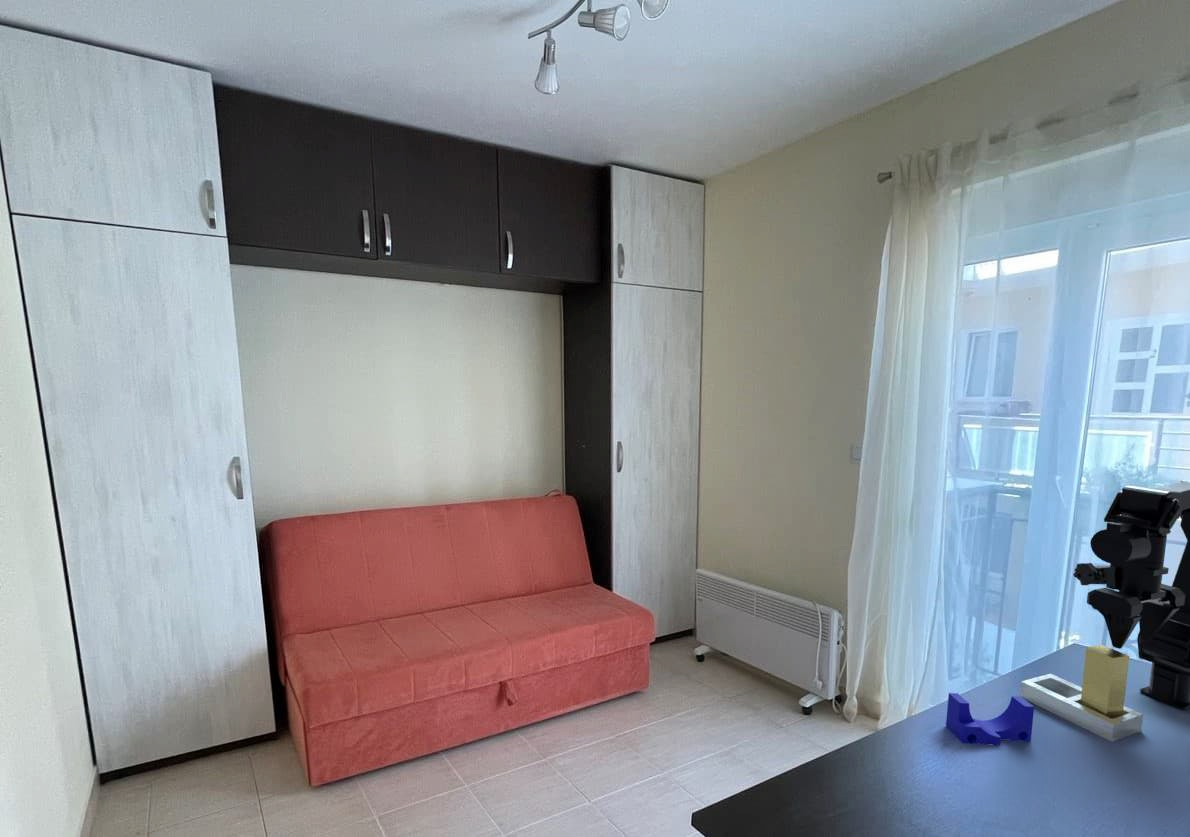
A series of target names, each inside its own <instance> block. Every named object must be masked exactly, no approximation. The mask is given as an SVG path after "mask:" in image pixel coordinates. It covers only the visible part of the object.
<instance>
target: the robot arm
mask: <svg viewBox="0 0 1190 837" xmlns="http://www.w3.org/2000/svg"><path fill="white" fill-rule="evenodd" d="M1178 519H1180V524H1179V525H1180V528H1181V530H1182V532H1183V534H1184V537H1185V538H1186V543H1185V546H1184V549H1183V553H1182V554H1181V557H1180V562H1179V564H1178V566H1177V570H1176V574H1175V576H1174V579H1173V580H1172V584H1171V585H1167V584H1164V583H1162V581H1163V575H1168V574H1169V570H1170V569H1169V567H1166V566H1164V564H1165V557H1166V556H1165V554H1166V549H1167V548H1166V546H1167V540H1168V535H1170V534H1171V532H1172V531H1171V530H1172V528H1173V526H1174V525H1175V524H1176V522H1177V521H1178ZM1103 522H1105V523H1106V529H1100V530H1099V531H1097V532H1095V533H1094V535H1093V536H1092V538H1090V548H1091V551H1092V552H1093V554H1094V556H1096V557H1097V558H1098V559H1100V560H1101V561H1103V562H1106V563H1107V564H1110V565H1094V564H1093V563H1092V562H1085V563H1084V562H1081V563H1076V568H1074V573H1073V577H1074V578H1076V579H1077V580H1078V581H1079V583H1080V585H1081V586H1089V585H1106V586H1105V587H1101V588H1096V589H1093V590H1090V591H1089V592H1087V597H1086V604H1087V605H1090V606H1091V608H1092V609H1094V610H1095V611H1098V612H1099V613H1100V614H1101V615H1102V616H1103V619H1104V621H1105V624H1106V627H1107V630H1108V631H1107V632H1108V634H1109V638H1110V642H1111V645H1112V647H1113V648H1115V649H1118V650H1121V649H1122V648H1123V646H1124V645H1125V644H1126V643H1127V641H1128V639H1129V637H1130V636H1131V634H1132V633H1133V631H1134V630H1135V628H1136V626H1137V625H1138V626H1139V632H1138V634H1137V638H1136V639H1137V640H1136V641H1137V642H1136V643H1137V650H1138V658H1139V659H1140V660H1143V661H1147V662H1150V663H1151V667H1150V668H1151V669H1150V676H1149V678H1150V679H1149V685H1148V686H1145V687H1143V688H1140V689H1139V692H1140V691H1141V692H1140V693H1142V694H1144V693H1145V694H1144V695H1146V694H1147V695H1146V696H1149V697H1151V696H1152V698H1154V699H1157V700H1159V701H1161V702H1164V703H1166V704H1168V705H1171V706H1174V707H1176V708H1178V709H1180V708H1182V709H1181V710H1186V709H1185V708H1188V707H1190V478H1189V479H1183V480H1181V481H1180V482H1175V483H1172V484H1168V485H1163V486H1160V487H1147V486H1138V485H1130V484H1129V485H1126V486H1123V487H1122V489H1121V490H1119V491H1118V492H1117V493H1116V495H1115V497H1114V499H1113V501H1112V503H1111V504H1110V507H1109V509H1108V510H1107V512H1106V514H1105V517H1104V518H1103ZM1183 708H1184V709H1183ZM1188 709H1189V708H1188Z"/></svg>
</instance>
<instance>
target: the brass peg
mask: <svg viewBox="0 0 1190 837" xmlns="http://www.w3.org/2000/svg"><path fill="white" fill-rule="evenodd" d="M1084 659H1085V660H1084V667H1083V668H1084V669H1083V674H1082V676H1083V678H1082V686H1081V687H1082V693H1081V702H1080V704H1081V705H1083V706H1085V707H1087V708H1089V709H1091V710H1094V711H1096V712H1098V713H1100V714H1102V715H1104V716H1107V717H1109V718H1111V719H1114V718H1117V717H1120V716H1123V708H1124V706H1125V698H1126V689H1127V680H1128V672H1129V662H1130V655H1128V654H1125V653H1123V652H1121V651H1118V650H1115V649H1113V648H1111V647H1109V646H1106V645H1103V644H1102V645H1101V644H1100V645H1092V646H1086V648H1085V656H1084Z"/></svg>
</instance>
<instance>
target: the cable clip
mask: <svg viewBox="0 0 1190 837" xmlns="http://www.w3.org/2000/svg"><path fill="white" fill-rule="evenodd" d="M1034 710H1035V706H1034V705H1032V704H1031V702H1029V701H1027V700H1025V699H1023V698H1022V697H1020V695H1019V696H1017V695H1016V696H1015V695H1011V697H1010V702H1009V705H1008V706H1007V708H1005V709H1004V712H1002V713H1001V714H1000V715H998V716H997V717H994V718H991V719H986V720H981V719H976V718H973V716H972V713H971V710H970V702H968V701H967V700H966V699H965V698H963V696H961V695H960V694H959V693H956V692H948V697H947V709H946V717H945V718H946V720H945V727H946V726H947V727H946V728H947V729H948V730H949V731H950V732H951V733H952V734H953V735H954V736H955V737H956V738H957V739H958V740H959V741H960V742H961V743H962V744H968V743H970V744H973V743H974V745H987V744H993V745H992V746H1001V741H1002V740H1001V739H1010V740H1009V741H1016V740H1023V741H1022V742H1032V732H1033V722H1034V712H1035V711H1034ZM978 743H979V744H978ZM996 744H998V745H996Z"/></svg>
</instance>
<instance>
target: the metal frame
mask: <svg viewBox="0 0 1190 837" xmlns="http://www.w3.org/2000/svg"><path fill="white" fill-rule="evenodd" d="M1020 683H1021V684H1020V692H1019V693H1020V694H1019V697H1022V698H1023V699H1024V700H1026V701H1027V702H1028V703H1030V704H1031V703H1032V704H1033V705H1035V706H1038V707H1039V708H1042V709H1044V710H1046V711H1048V712H1050V713H1052V714H1054V715H1056V716H1058V717H1060V718H1062V719H1063V720H1066V721H1069V722H1070V723H1072V724H1074V725H1076V726H1078V727H1080V728H1083V729H1084V730H1087V731H1088V732H1090V733H1092V734H1095V735H1096V736H1098V737H1100V738H1103V739H1104V740H1107V741H1109V742H1111V743H1113V742H1116V741H1119V740H1121V739H1124V738H1126V737H1129V736H1132V735H1135V734H1138V733H1140V732H1142V728H1143V719H1144V714H1143V713H1141V712H1140V711H1136V710H1134V709H1132V708H1130V707H1127V706H1125V705H1124V708H1123V716H1120V717H1117V718H1114V719H1111V718H1109V717H1107V716H1104V715H1102V714H1100V713H1098V712H1096V711H1094V710H1091V709H1089V708H1087V707H1085V706H1083V705H1081V704H1080V702H1081V693H1082V686H1080V685H1077V684H1075V683H1073V682H1070V681H1069V680H1066V679H1063V678H1061V677H1060V676H1057V675H1055V674H1053V673H1048V674H1045V675H1044V674H1043V675H1041V676H1035V677H1032V678H1029V679H1025V680H1022V681H1020Z"/></svg>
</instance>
